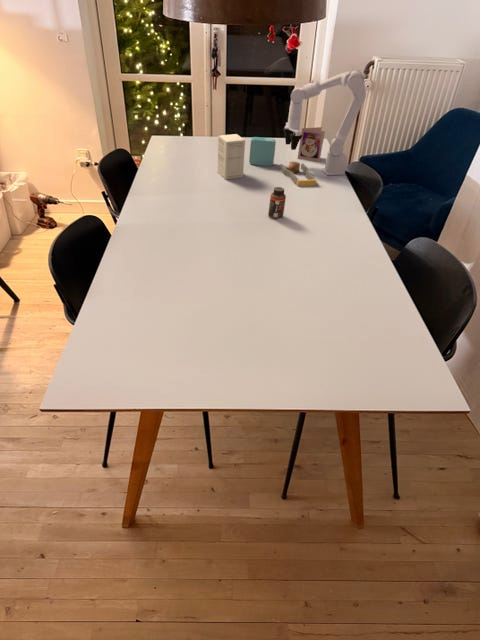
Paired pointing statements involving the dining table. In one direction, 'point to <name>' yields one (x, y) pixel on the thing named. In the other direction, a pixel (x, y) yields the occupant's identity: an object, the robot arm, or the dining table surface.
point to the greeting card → (311, 144)
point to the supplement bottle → (277, 203)
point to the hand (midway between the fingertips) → (290, 146)
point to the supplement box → (231, 156)
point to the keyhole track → (309, 182)
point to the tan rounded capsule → (294, 167)
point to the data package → (262, 151)
